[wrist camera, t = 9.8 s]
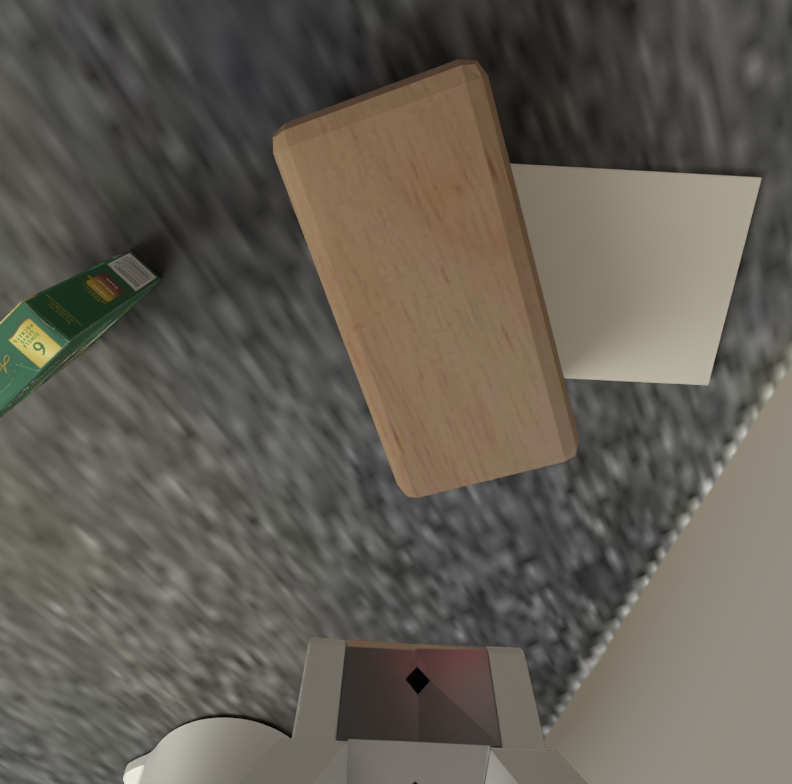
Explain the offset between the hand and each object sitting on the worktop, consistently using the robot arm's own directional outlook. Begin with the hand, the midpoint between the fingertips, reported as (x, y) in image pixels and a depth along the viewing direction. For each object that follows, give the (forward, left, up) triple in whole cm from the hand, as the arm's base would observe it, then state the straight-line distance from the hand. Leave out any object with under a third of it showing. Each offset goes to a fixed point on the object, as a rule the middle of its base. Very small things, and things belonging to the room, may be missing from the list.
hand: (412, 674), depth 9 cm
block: (-11, -6, -28) cm, 30 cm away
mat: (-2, -12, -34) cm, 36 cm away
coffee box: (-5, +19, -34) cm, 39 cm away
